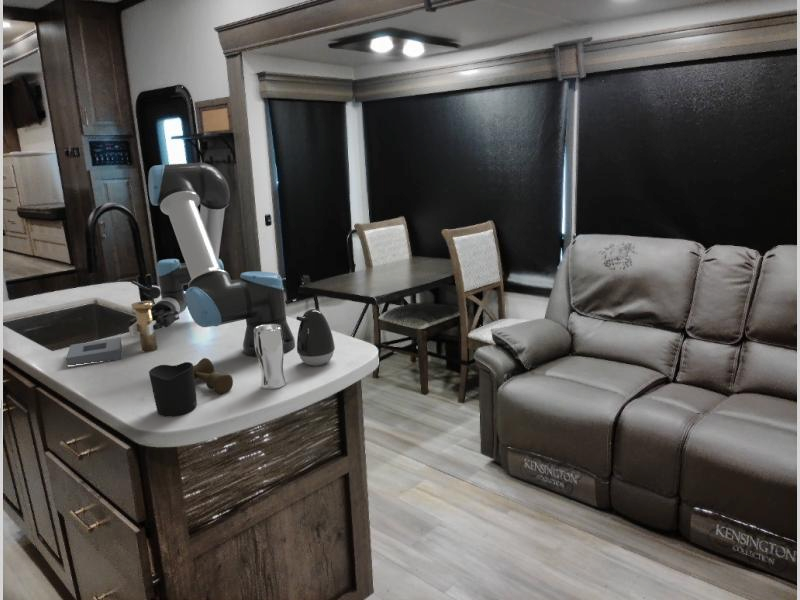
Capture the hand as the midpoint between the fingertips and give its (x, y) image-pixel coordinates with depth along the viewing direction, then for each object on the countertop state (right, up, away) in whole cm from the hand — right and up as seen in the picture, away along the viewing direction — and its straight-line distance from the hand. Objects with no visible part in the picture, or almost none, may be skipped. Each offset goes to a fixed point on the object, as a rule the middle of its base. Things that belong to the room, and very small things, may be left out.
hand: (139, 331), depth 175 cm
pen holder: (+26, -16, -38) cm, 49 cm away
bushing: (0, -6, +7) cm, 9 cm away
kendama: (+27, -13, -25) cm, 39 cm away
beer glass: (+46, -12, -27) cm, 55 cm away
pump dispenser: (+55, -8, -13) cm, 57 cm away
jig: (-14, -8, +3) cm, 17 cm away
